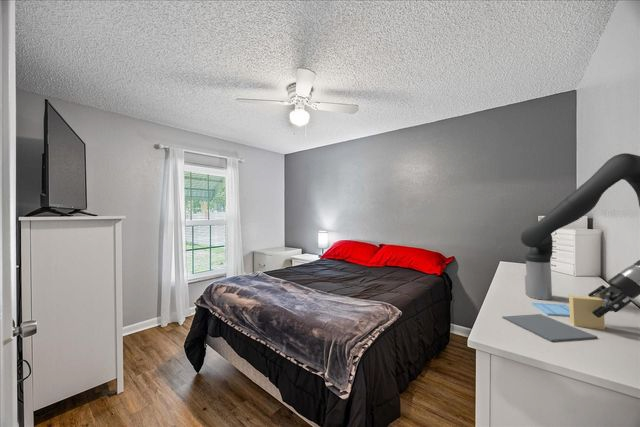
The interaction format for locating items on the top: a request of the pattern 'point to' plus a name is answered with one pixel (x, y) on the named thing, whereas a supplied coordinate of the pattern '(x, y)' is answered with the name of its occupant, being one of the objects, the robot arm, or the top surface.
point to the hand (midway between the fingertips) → (588, 311)
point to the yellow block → (585, 312)
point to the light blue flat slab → (553, 309)
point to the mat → (549, 328)
